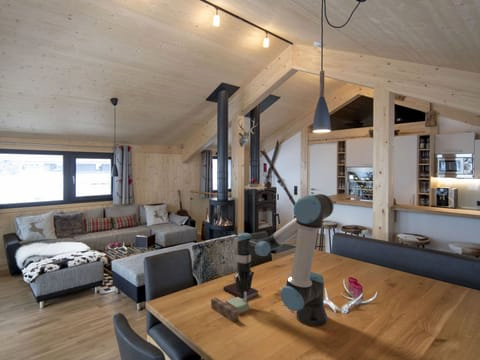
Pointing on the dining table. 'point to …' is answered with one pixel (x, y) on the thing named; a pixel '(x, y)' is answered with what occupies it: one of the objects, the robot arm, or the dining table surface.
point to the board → (225, 309)
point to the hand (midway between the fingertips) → (244, 303)
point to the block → (238, 304)
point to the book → (233, 290)
